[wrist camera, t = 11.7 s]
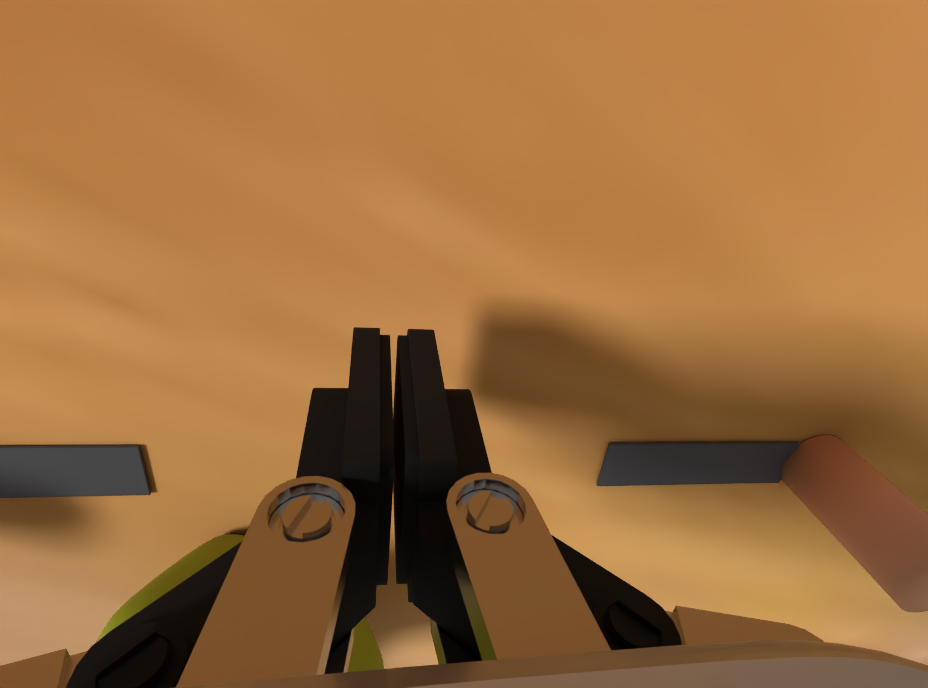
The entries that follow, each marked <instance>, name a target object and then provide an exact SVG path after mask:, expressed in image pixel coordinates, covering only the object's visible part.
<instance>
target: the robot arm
mask: <svg viewBox="0 0 928 688" xmlns="http://www.w3.org/2000/svg"><path fill="white" fill-rule="evenodd" d="M393 493H394V525H395V556H396V582H397V584H406V583H407V584H408V602H413V604H414V605H415V606H416V607H417V608H419V609H420V610H421V611H422V612H424V613H425V614H426V615H427V616H428V617H430V618H431V620H430V623H431V634H432V638H433V642H434V646H435V650H436V654H437V658H438V662H439V665H427V666H415V667H403V668H392V669H380V670H368V671H357V672H348V667H349V661H350V656H351V651H352V646H353V641H354V627H355V626H356V625H357V624H358V623H359V622H360V621H361V620H362V619H363V618H364V617H365V616H366V615H367V614H368V613H369V612H370V611H371V610H372V609H373V608H374V607H375V605H376V585H387V580H388V562H389V545H390V528H391V511H392V494H393ZM0 688H928V665H925V664H921V663H918V662H915V661H912V660H908V659H905V658H902V657H899V656H895V655H892V654H889V653H886V652H882V651H877V650H872V649H866V648H861V647H855V646H850V645H844V644H838V643H828V642H824V641H823V640H821V639H820V638H818V637H816V636H815V635H813V634H812V633H810V632H808V631H807V630H805V629H802V628H799V627H796V626H793V625H790V624H785V623H778V622H772V621H766V620H760V619H754V618H748V617H742V616H736V615H730V614H723V613H717V612H711V611H705V610H699V609H693V608H687V607H681V606H676V607H675V609H674V610H673V612H669V611H665V610H664V609H663V608H662V607H661V606H660V605H659V604H657V603H656V602H655V601H653V600H652V599H651V598H650V597H648V596H647V595H645V594H644V593H642V592H641V591H639V590H637V589H636V588H634V587H633V586H631V585H630V584H628V583H626V582H625V581H623V580H622V579H620V578H618V577H617V576H615V575H614V574H612V573H611V572H609V571H607V570H606V569H604V568H603V567H601V566H600V565H598V564H596V563H595V562H593V561H592V560H590V559H589V558H587V557H585V556H584V555H582V554H581V553H579V552H577V551H576V550H574V549H573V548H571V547H570V546H568V545H566V544H565V543H563V542H562V541H560V540H559V539H557V538H555V537H554V536H552V535H551V534H550V532H549V530H548V528H547V526H546V524H545V522H544V520H543V518H542V516H541V514H540V512H539V510H538V509H537V507H536V505H535V503H534V501H533V499H532V497H531V496H530V495H529V493H528V492H527V491H526V489H525V488H523V487H522V486H521V485H520V484H518V483H517V482H516V481H514V480H512V479H510V478H508V477H505V476H503V475H499V474H494V473H492V472H491V468H490V464H489V460H488V457H487V453H486V449H485V445H484V441H483V437H482V433H481V429H480V425H479V421H478V417H477V413H476V409H475V405H474V402H473V398H472V394H471V391H470V390H469V389H445V388H444V383H443V377H442V372H441V366H440V361H439V355H438V350H437V344H436V339H435V333H434V330H424V329H408V332H407V336H401V335H398V339H397V357H396V375H395V394H394V412H393V408H392V380H391V352H390V335H380V328H355V327H354V330H353V342H352V353H351V365H350V377H349V388H314V389H313V391H312V395H311V400H310V406H309V411H308V416H307V422H306V427H305V433H304V438H303V443H302V449H301V454H300V460H299V465H298V471H297V476H296V479H292V480H289V481H287V482H285V483H283V484H280V485H278V486H276V487H275V488H274V489H273V490H272V491H270V492H269V493H268V494H267V495H266V496H265V497H264V499H263V500H262V502H261V503H260V505H259V506H258V508H257V510H256V512H255V515H254V517H253V519H252V521H251V523H250V526H249V528H248V530H247V532H246V534H245V537H244V539H243V541H242V542H240V543H239V544H237V545H236V546H234V547H233V548H231V549H230V550H228V551H227V552H225V553H224V554H223V555H221V556H220V557H218V558H217V559H215V560H214V561H212V562H211V563H209V564H208V565H206V566H205V567H203V568H202V569H201V570H199V571H198V572H196V573H195V574H193V575H192V576H190V577H189V578H187V579H186V580H184V581H183V582H182V583H180V584H179V585H177V586H176V587H174V588H173V589H171V590H170V591H168V592H167V593H165V594H164V595H162V596H161V597H160V598H158V599H157V600H155V601H154V602H152V603H151V604H149V605H148V606H146V607H145V608H143V609H142V610H140V611H139V612H138V613H136V614H135V615H133V616H132V617H130V618H129V619H127V620H126V621H124V622H123V623H121V624H120V625H119V626H117V627H116V628H114V629H113V630H111V631H110V632H108V633H107V634H106V635H105V636H104V637H102V638H101V639H100V640H99V641H98V642H96V643H95V644H94V645H93V646H92V647H91V648H90V649H89V650H88V651H86V652H82V653H79V654H75V655H71V656H70V655H69V653H68V651H67V649H63V650H59V651H55V652H51V653H48V654H44V655H40V656H36V657H32V658H29V659H25V660H21V661H17V662H14V663H10V664H6V665H2V666H0Z"/></svg>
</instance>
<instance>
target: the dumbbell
mask: <svg viewBox="0 0 928 688" xmlns="http://www.w3.org/2000/svg"><path fill="white" fill-rule="evenodd" d="M244 537H245V535H239V534H225V535H222V536H218V537H215V538H213V539H212V540H210V541H208V542H206V543H204V544H203V545H201V546H199V547H198V548H196V549H195V550H193V551H192V552H190V553H189V554H187V555H186V556H185V557H183V558H182V559H180V560H179V561H178V562H176V563H175V564H174V565H172V566H171V567H169V568H168V569H167V570H165V571H164V572H163V573H161V574H160V575H159V576H158V577H156V578H155V579H154V580H152V581H151V582H150V583H148V584H147V585H146V586H145V587H144V588H142V589H141V590H140V591H139V592H138V593H136V594H135V595H134V596H133V597H132V598H130V599H129V600H128V601H127V602H126V603H125V604H124V605H123V606H122V607H121V608H120V609H119V610H118V611H117V612H116V613H115V614H114V615H113V616H112V618H111V619H110V620H109V622H108V623H107V625H106V626H105V628H104V629H103V631H102V632H101V634H100V636H99V638H98V640H97V642H98V641H99V640H100V639H101V638H102V637H104V636H105V635H106V634H107V633H108V632H110V631H111V630H113V629H114V628H116V627H117V626H119V625H120V624H121V623H123V622H124V621H126V620H127V619H129V618H130V617H132V616H133V615H135V614H136V613H138V612H139V611H140V610H142V609H143V608H145V607H146V606H148V605H149V604H151V603H152V602H154V601H155V600H157V599H158V598H160V597H161V596H162V595H164V594H165V593H167V592H168V591H170V590H171V589H173V588H174V587H176V586H177V585H179V584H180V583H182V582H183V581H184V580H186V579H187V578H189V577H190V576H192V575H193V574H195V573H196V572H198V571H199V570H201V569H202V568H203V567H205V566H206V565H208V564H209V563H211V562H212V561H214V560H215V559H217V558H218V557H220V556H221V555H223V554H224V553H225V552H227V551H228V550H230V549H231V548H233V547H234V546H236V545H237V544H239V543H240V542H242V541H243V539H244ZM380 669H384V665H383V660H382V657H381V653H380V650H379V647H378V645H377V642H376V640H375V638H374V635H373V633H372V630H371V628H370V626H369V624H368V622H367V619H366V617H364V618H363V619H362V620H361V621H360V622H359V623H358V624H357V625H356V626H355V627H354V641H353V646H352V651H351V656H350V661H349V667H348V672H357V671H368V670H380Z"/></svg>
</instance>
